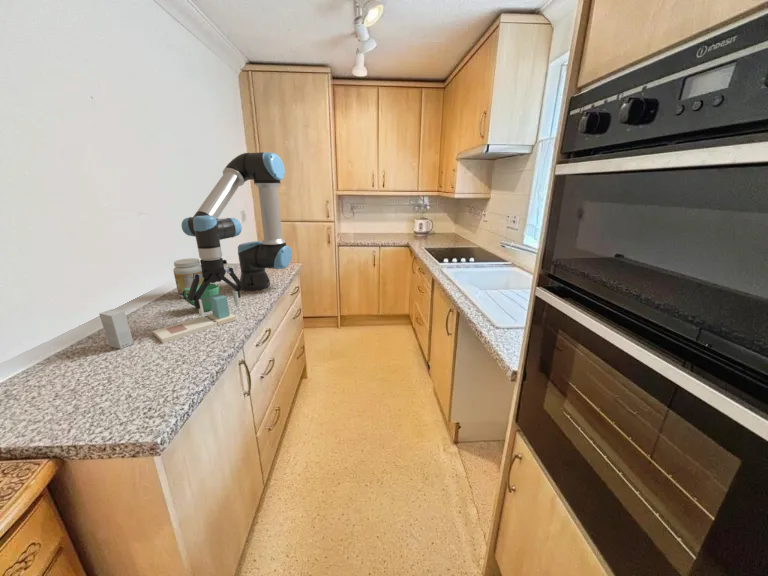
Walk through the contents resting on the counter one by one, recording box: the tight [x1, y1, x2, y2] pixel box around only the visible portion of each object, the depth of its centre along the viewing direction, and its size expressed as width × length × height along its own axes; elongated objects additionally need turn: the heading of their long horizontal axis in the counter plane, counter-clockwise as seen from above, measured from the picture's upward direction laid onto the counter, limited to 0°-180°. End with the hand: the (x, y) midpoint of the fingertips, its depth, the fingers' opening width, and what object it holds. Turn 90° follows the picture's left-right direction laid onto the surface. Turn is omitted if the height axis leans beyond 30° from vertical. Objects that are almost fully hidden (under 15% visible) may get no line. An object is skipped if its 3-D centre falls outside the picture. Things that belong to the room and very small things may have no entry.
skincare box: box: [99, 308, 134, 350], centre depth 104 cm, size 6×4×12 cm
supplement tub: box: [172, 257, 204, 299], centre depth 150 cm, size 12×12×17 cm
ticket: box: [152, 315, 219, 344], centre depth 116 cm, size 18×10×2 cm, turn 139°
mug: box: [182, 283, 220, 312], centre depth 134 cm, size 15×10×10 cm
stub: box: [206, 293, 237, 326], centre depth 124 cm, size 7×10×10 cm
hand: (220, 310), depth 125 cm, fingers open, 13 cm apart
